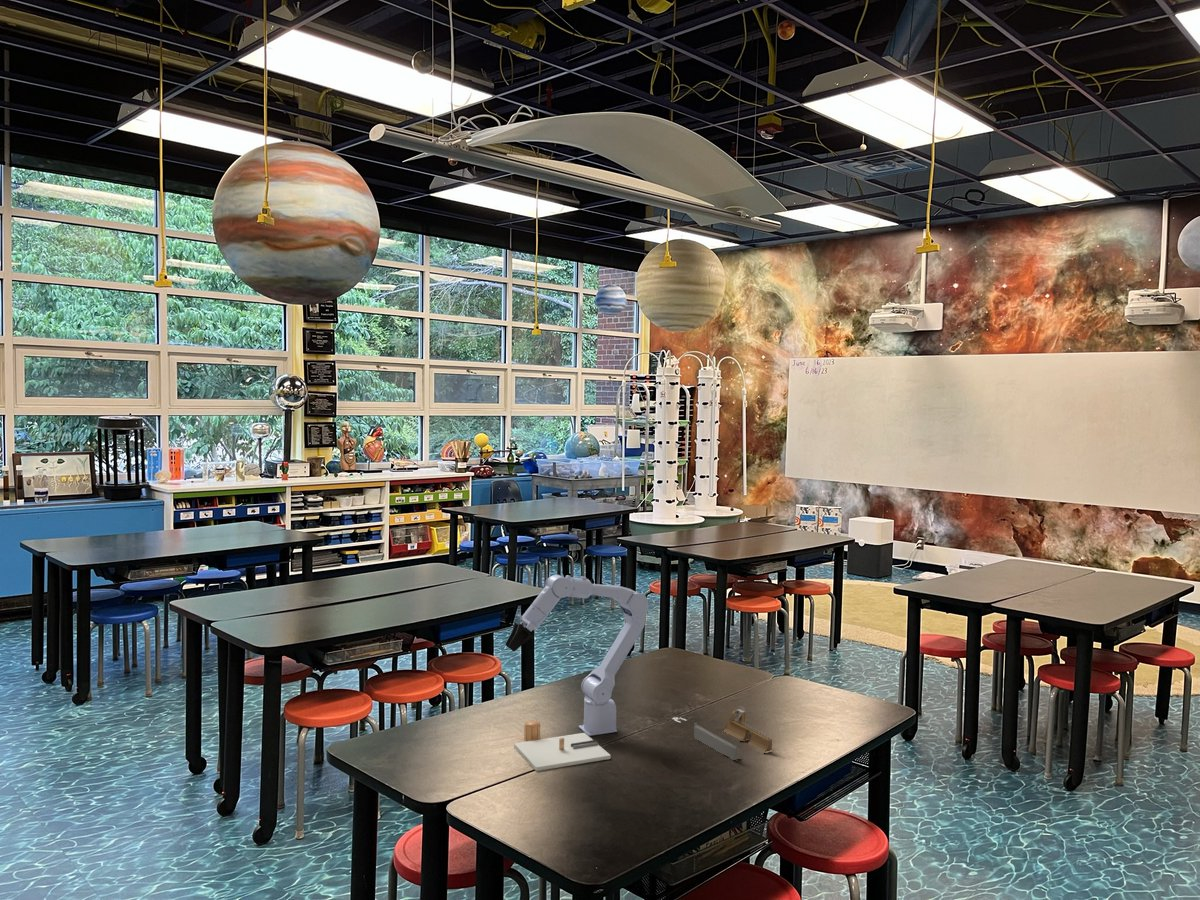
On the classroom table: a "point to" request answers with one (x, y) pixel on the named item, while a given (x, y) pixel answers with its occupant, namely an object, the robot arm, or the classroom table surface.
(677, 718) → the paper
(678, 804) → the classroom table surface
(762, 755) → the classroom table surface
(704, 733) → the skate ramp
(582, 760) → the plate
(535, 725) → the wire nut
